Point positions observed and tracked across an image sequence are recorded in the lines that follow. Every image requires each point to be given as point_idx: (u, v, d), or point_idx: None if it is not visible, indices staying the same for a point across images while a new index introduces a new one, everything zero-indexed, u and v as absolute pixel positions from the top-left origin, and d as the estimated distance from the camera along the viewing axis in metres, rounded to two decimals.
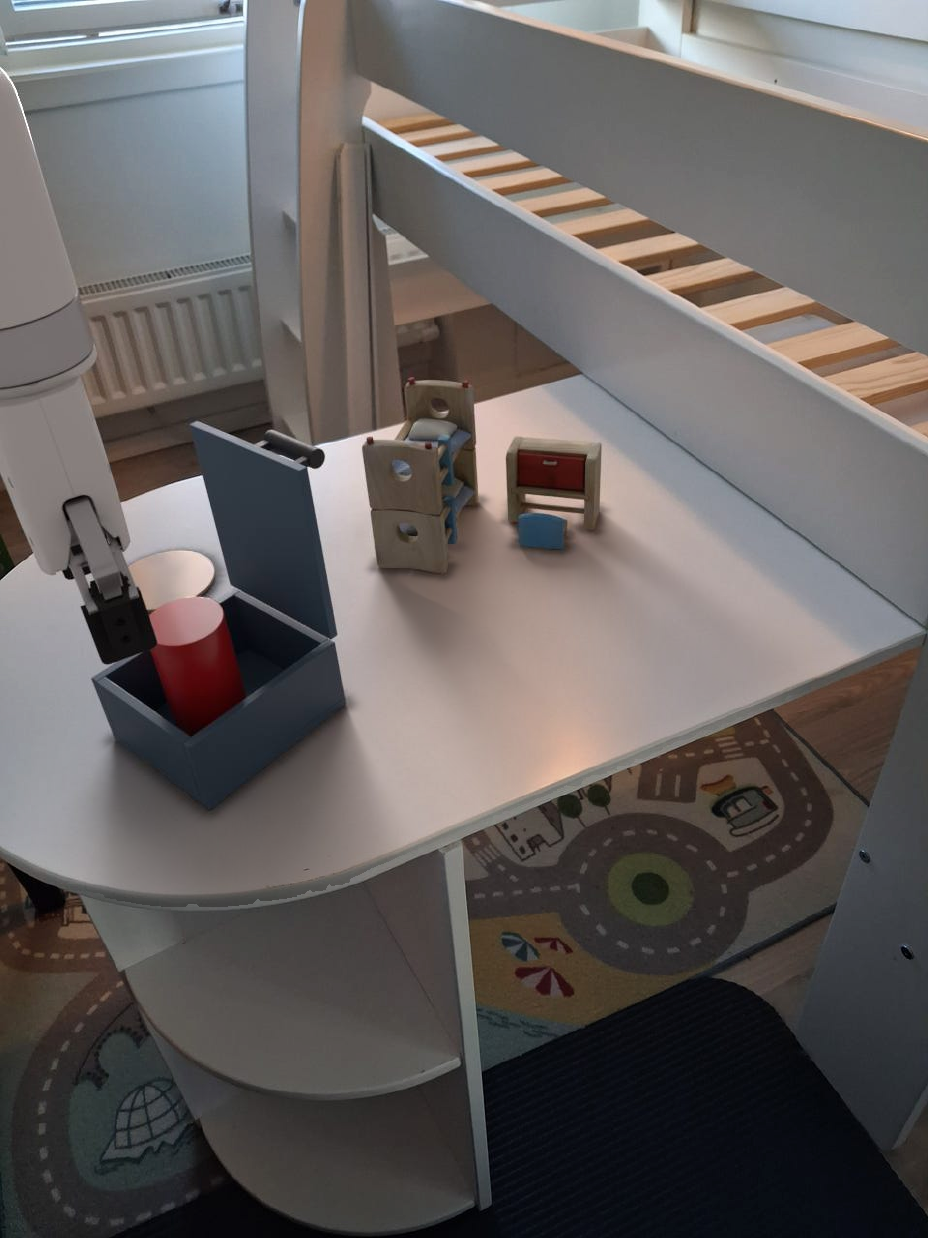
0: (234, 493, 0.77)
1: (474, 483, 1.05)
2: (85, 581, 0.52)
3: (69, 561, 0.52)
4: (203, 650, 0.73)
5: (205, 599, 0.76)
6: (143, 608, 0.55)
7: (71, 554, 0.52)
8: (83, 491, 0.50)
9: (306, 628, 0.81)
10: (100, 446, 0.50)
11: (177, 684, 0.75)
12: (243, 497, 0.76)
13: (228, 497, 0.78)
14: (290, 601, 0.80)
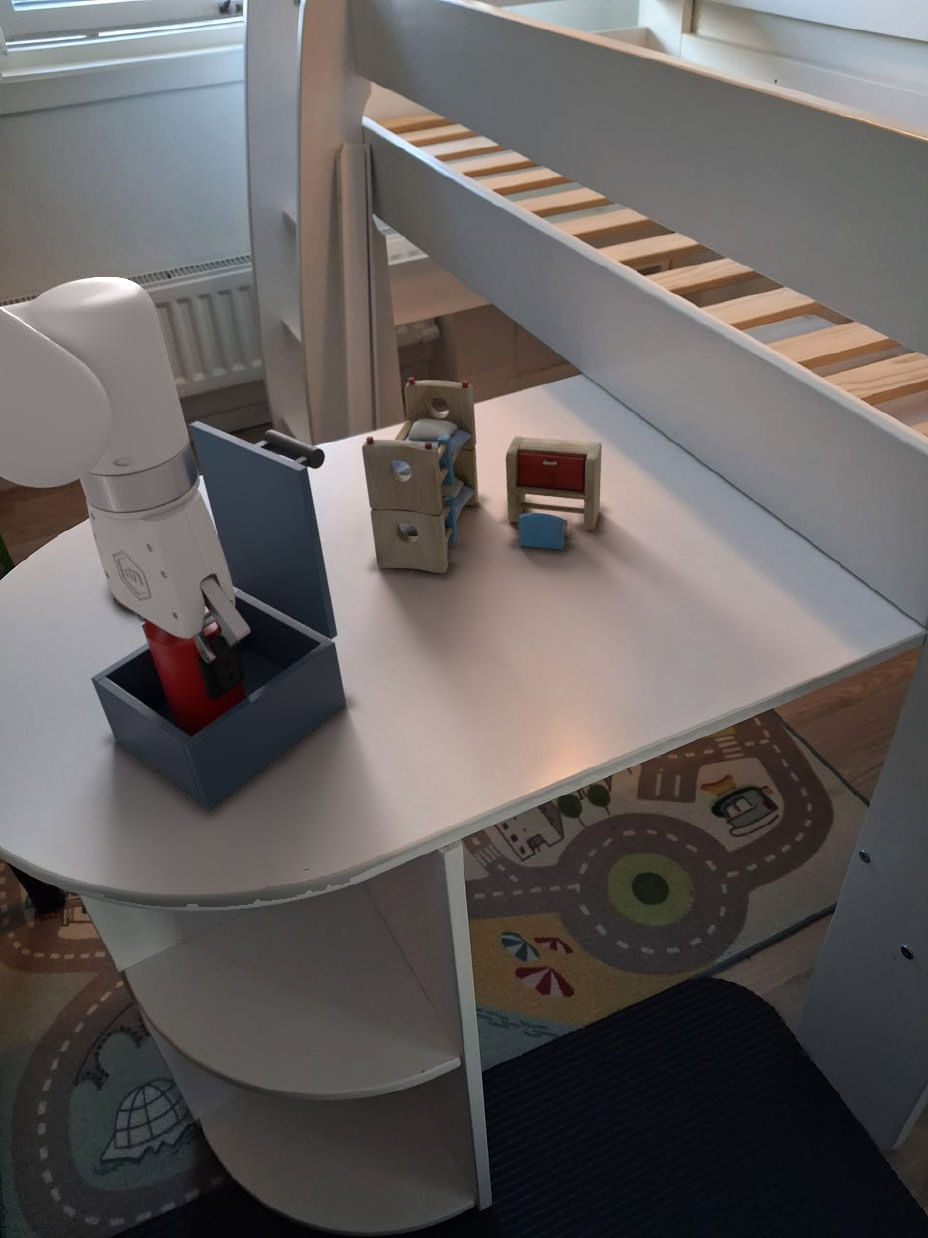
0: (234, 493, 0.77)
1: (474, 483, 1.05)
2: (207, 641, 0.71)
3: None
4: None
5: None
6: (236, 652, 0.75)
7: None
8: (212, 571, 0.68)
9: (306, 628, 0.81)
10: (217, 536, 0.68)
11: (177, 684, 0.75)
12: (243, 497, 0.76)
13: (228, 497, 0.78)
14: (290, 601, 0.80)
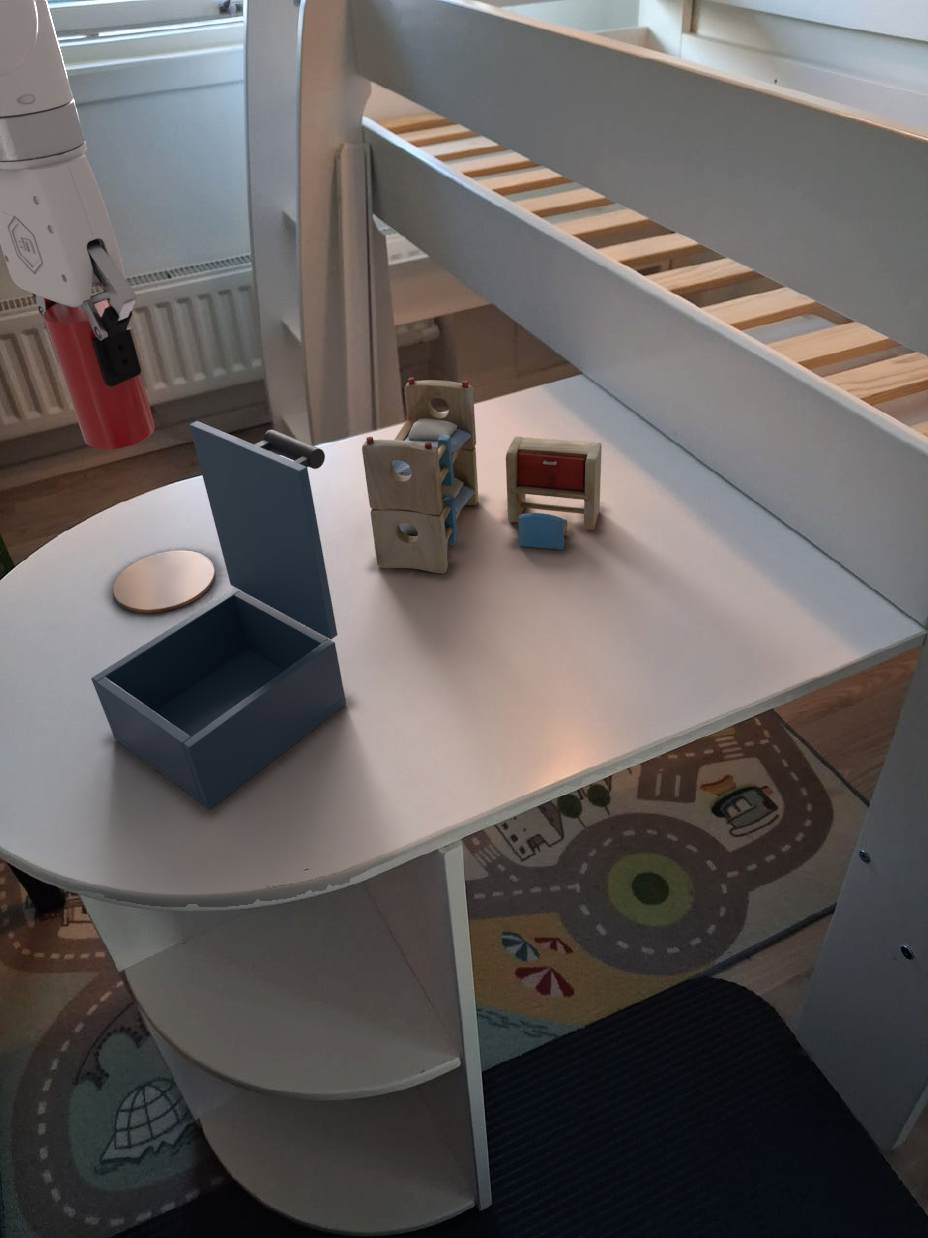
0: (234, 493, 0.77)
1: (474, 483, 1.05)
2: (98, 316, 0.76)
3: (86, 301, 0.75)
4: None
5: None
6: (131, 341, 0.79)
7: None
8: (98, 235, 0.72)
9: (306, 628, 0.81)
10: (104, 203, 0.73)
11: (75, 369, 0.79)
12: (243, 497, 0.76)
13: (228, 497, 0.78)
14: (290, 601, 0.80)
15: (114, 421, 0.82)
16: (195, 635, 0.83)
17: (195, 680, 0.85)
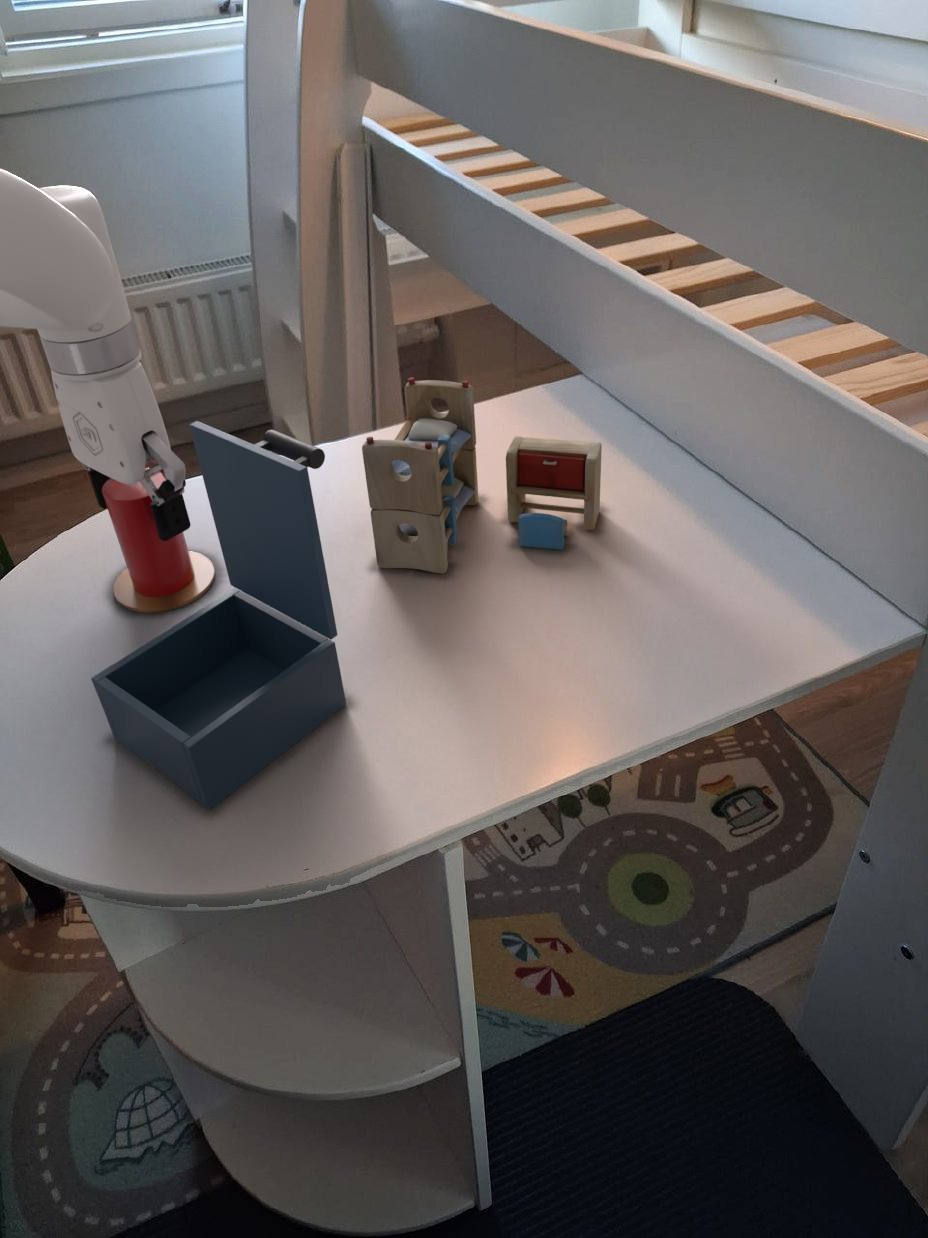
0: (234, 493, 0.77)
1: (474, 483, 1.05)
2: (154, 485, 0.87)
3: None
4: None
5: None
6: (183, 502, 0.91)
7: None
8: (151, 428, 0.85)
9: (306, 628, 0.81)
10: None
11: (129, 535, 0.92)
12: (243, 497, 0.76)
13: (228, 497, 0.78)
14: (290, 601, 0.80)
15: (161, 574, 0.95)
16: (195, 635, 0.83)
17: (195, 680, 0.85)
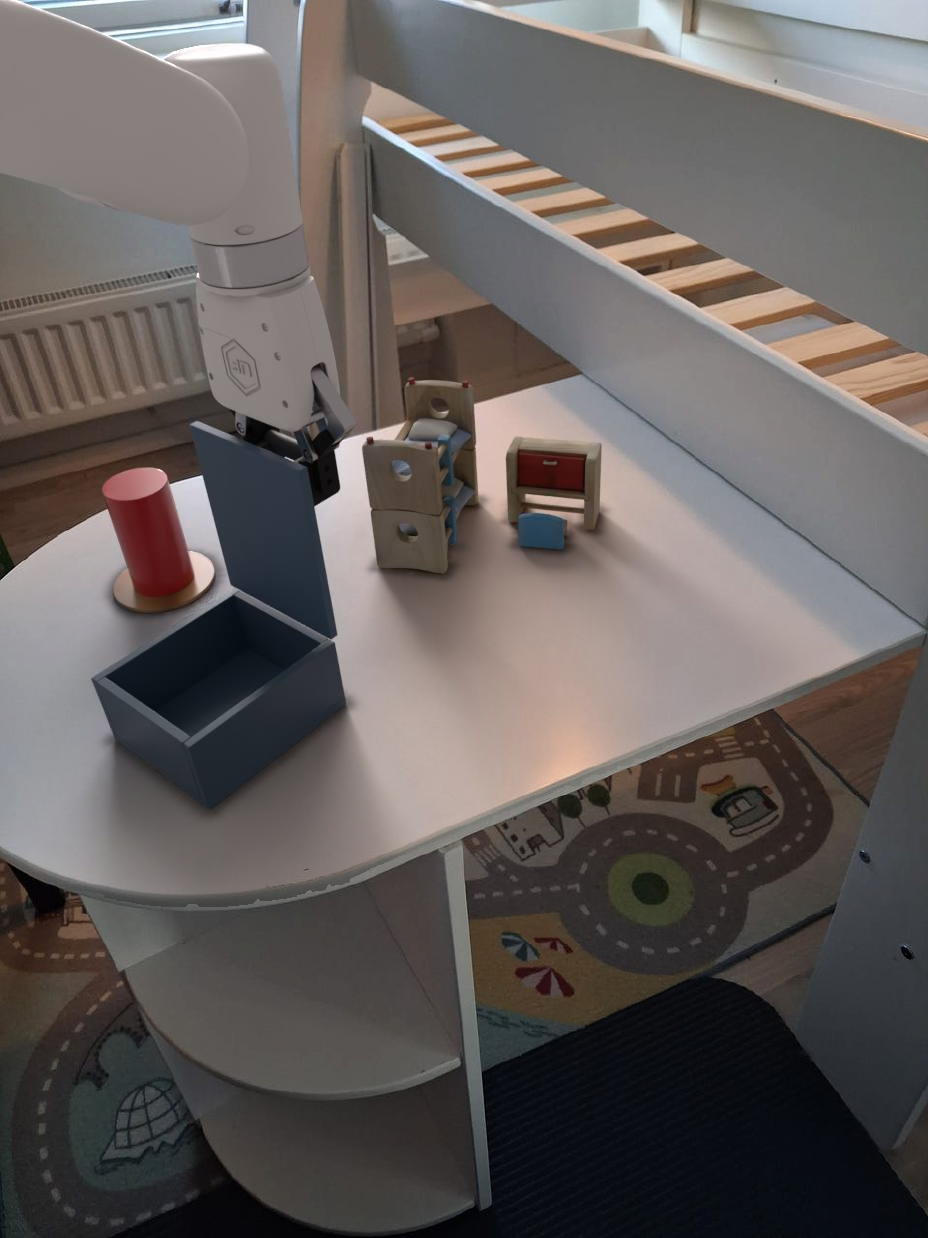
0: (234, 493, 0.77)
1: (474, 483, 1.05)
2: (310, 439, 0.72)
3: None
4: (149, 505, 0.91)
5: (153, 469, 0.94)
6: (334, 459, 0.76)
7: None
8: (322, 359, 0.69)
9: (306, 628, 0.81)
10: None
11: (129, 535, 0.92)
12: (243, 497, 0.76)
13: (228, 497, 0.78)
14: (290, 601, 0.80)
15: (161, 574, 0.95)
16: (195, 635, 0.83)
17: (195, 680, 0.85)
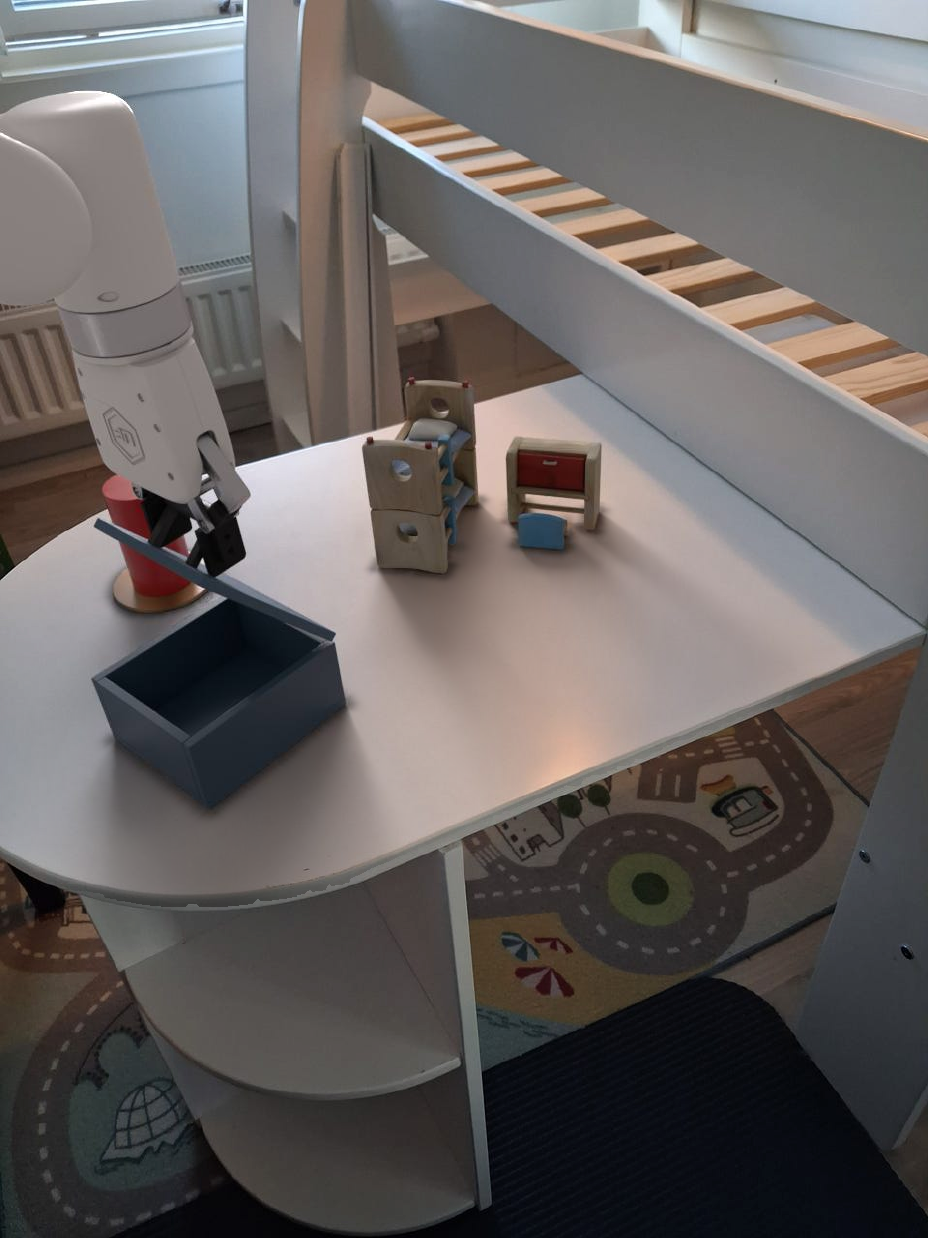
0: None
1: (474, 483, 1.05)
2: (205, 509, 0.67)
3: None
4: None
5: None
6: (237, 525, 0.70)
7: None
8: (209, 427, 0.63)
9: None
10: None
11: None
12: None
13: None
14: None
15: (161, 574, 0.95)
16: (195, 635, 0.83)
17: (195, 680, 0.85)
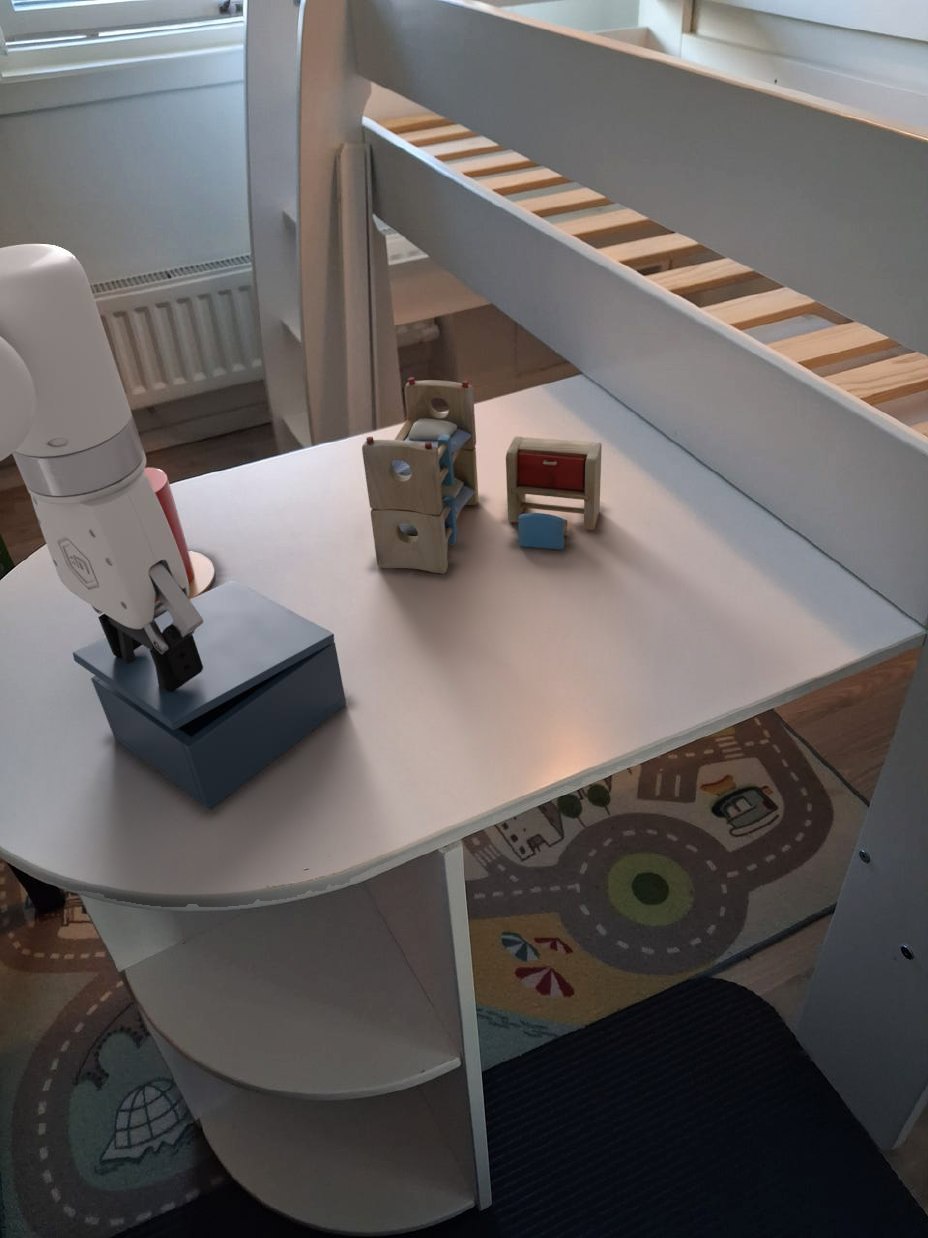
0: None
1: (474, 483, 1.05)
2: (159, 631, 0.68)
3: None
4: None
5: (153, 469, 0.94)
6: (193, 642, 0.71)
7: None
8: (161, 557, 0.64)
9: None
10: (166, 520, 0.64)
11: None
12: None
13: None
14: None
15: None
16: None
17: None
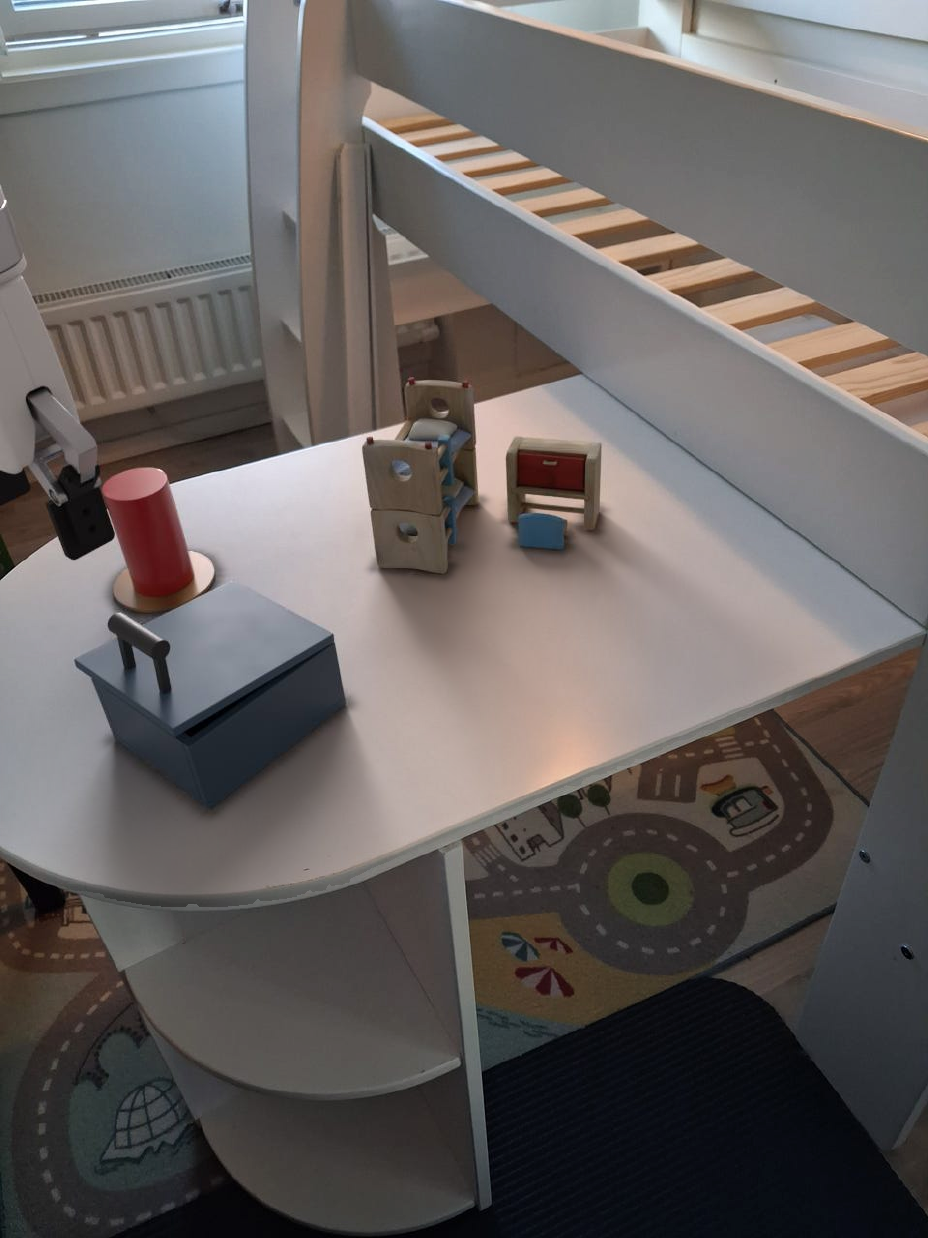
0: None
1: (474, 483, 1.05)
2: (51, 473, 0.56)
3: None
4: (149, 505, 0.91)
5: (153, 469, 0.94)
6: (101, 499, 0.59)
7: None
8: (42, 382, 0.54)
9: None
10: (50, 339, 0.54)
11: (129, 535, 0.92)
12: None
13: None
14: None
15: (161, 574, 0.95)
16: None
17: None
